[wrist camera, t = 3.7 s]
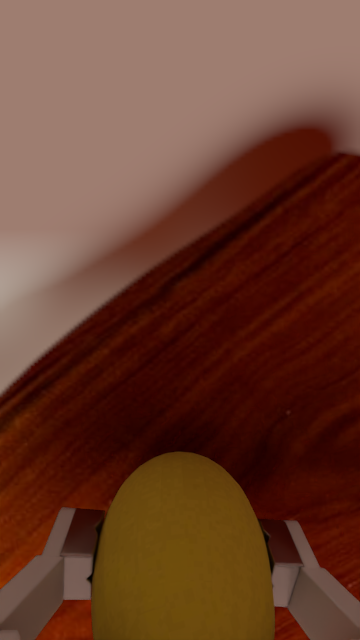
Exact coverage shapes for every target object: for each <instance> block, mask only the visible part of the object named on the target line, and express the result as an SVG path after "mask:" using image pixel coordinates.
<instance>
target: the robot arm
mask: <svg viewBox="0 0 360 640" xmlns="http://www.w3.org/2000/svg"><path fill="white" fill-rule="evenodd" d="M104 518H105V511H103V510H92V509H80V508H66V507H62V508H61V510H60V511H59V513H58V516H57V518H56V521H55V523H54V526H53V528H52V531H51V533H50V536H49V538H48V541H47V543H46V546H45V548H44V551H43V553H42V555H37V556H36V557H35V558H34V559H33V560H32V561H31V562H30V563H28V564H27V565H26V566H25V567H24V568H23V569H22V570H21V571H20V572H19V573H18V574H17V575H16V576H15V577H13V578H12V579H11V580H10V581H9V582H8V583H7V584H6V585H5V586H4V587H3V588H2V589H1V590H0V640H34V639H35V638H36V637H37V635H38V634H39V633H40V632H41V630H42V629H43V628H44V626H45V625H46V624H47V622H48V621H49V620H50V618H51V617H52V616H53V614H54V613H55V612H56V610H57V609H58V608H59V606H60V605H61V604H62V602H63V600H90V599H91V595H92V580H93V571H94V564H95V559H96V553H97V547H98V542H99V537H100V533H101V529H102V525H103V523H104ZM257 520H258V522H259V525H260V527H261V530H262V533H263V536H264V540H265V544H266V548H267V553H268V558H269V564H270V571H271V579H272V588H273V598H274V606H279V607H288V610H289V611H290V612H291V614H292V615H293V616H294V618H295V619H296V621H297V622H298V623H299V625H300V626H301V628H302V629H303V630H304V632H305V633H306V635H307V636H308V637H309V639H310V640H360V602H359V601H358V600H357V599H356V598H355V597H354V596H353V595H352V594H351V593H350V592H349V591H347V590H346V589H345V588H344V587H343V586H342V585H341V584H340V583H339V582H338V581H337V580H336V579H335V578H334V577H333V576H332V575H331V574H330V573H329V572H328V571H327V570H326V569H325V568H320V566H319V564H318V562H317V560H316V558H315V556H314V554H313V552H312V550H311V547H310V545H309V543H308V541H307V539H306V537H305V535H304V533H303V531H302V529H301V527H300V524H299V523H298V522H297V521H289V520H274V519H257Z"/></svg>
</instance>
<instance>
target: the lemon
mask: <svg viewBox="0 0 360 640" xmlns="http://www.w3.org/2000/svg"><path fill="white" fill-rule="evenodd" d="M274 629H275V613H274V598H273V588H272V579H271V571H270V564H269V558H268V553H267V548H266V544H265V540H264V536H263V533H262V530H261V527H260V525H259V522H258V520H257V517H256V515H255V513H254V511H253V509H252V507H251V505H250V503H249V501H248V499H247V497H246V495H245V493H244V491H243V490H242V489H241V487H240V486H239V484H238V483H237V482H236V481H235V480H234V479H233V478H232V477H231V476H230V474H229V473H228V472H227V471H226V470H225V469H224V468H223V467H221V466H220V465H218V464H217V463H215V462H214V461H212V460H210V459H209V458H207V457H204V456H201V455H198V454H195V453H190V452H171V453H165V454H162V455H160V456H157V457H154V458H152V459H150V460H149V461H147V462H146V463H144V464H142V465H141V466H139V467H138V468H137V469H136V470H135V471H134V472H133V473H132V474H131V475H130V476H129V477H128V478H127V479H126V480H125V482H124V483H123V484H122V486H121V487H120V489H119V491H118V493H117V494H116V496H115V498H114V500H113V502H112V504H111V506H110V507H109V510H108V512H107V514H106V517H105V520H104V523H103V525H102V529H101V533H100V537H99V542H98V547H97V553H96V559H95V564H94V571H93V580H92V630H93V637H94V640H274Z"/></svg>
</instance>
